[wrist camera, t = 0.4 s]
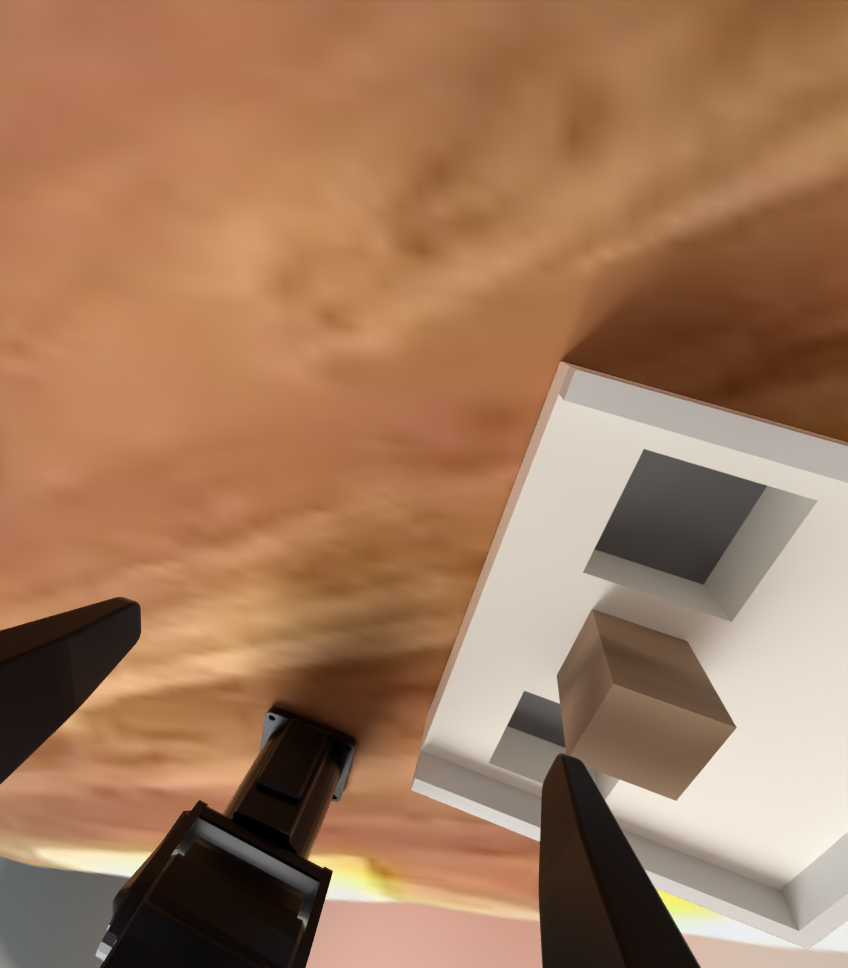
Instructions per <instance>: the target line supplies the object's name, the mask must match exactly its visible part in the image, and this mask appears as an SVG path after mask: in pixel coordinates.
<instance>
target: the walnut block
mask: <svg viewBox="0 0 848 968" xmlns="http://www.w3.org/2000/svg"><path fill="white" fill-rule="evenodd" d="M557 683H558V691H559V699H560V707H561V715H562V723H563V730H564V738H565V746H566V754H567V755H570V756H572V757H575V758H578V759H580V760H581V761H582V762H583V763H584V765H585V766H586V767H588V768H591V769H593V770H596V771H598V772H601V773H604V774H606V775H609V776H612V777H614V778H617V779H620V780H622V781H625V782H628V783H630V784H633V785H635V786H638V787H641V788H643V789H646V790H649V791H651V792H654V793H657V794H659V795H662V796H664V797H667V798H670V799H672V800H675V801H677V799H678V798H679V797H680V796H681V795H682V793H683V792H684V791H685V790H686V789H687V787H688V786H689V785H690V784H691V783H692V781H693V780H694V779H695V778H696V776H697V775H698V774H699V773H700V772H701V770H702V769H703V768H704V767H705V766H706V764H707V763H708V762H709V761H710V760H711V758H712V757H713V756H714V755H715V753H716V752H717V751H718V750H719V749H720V747H721V746H722V745H723V744H724V743H725V741H726V740H727V739H728V738H729V737H730V735H731V734H732V733H733V732H734V730H735V729H736V728H737V727H736V725H735V724H734V722H733V720H732V718H731V717H730V715H729V713H728V711H727V710H726V708H725V706H724V704H723V703H722V701H721V699H720V697H719V696H718V694H717V692H716V690H715V689H714V687H713V685H712V683H711V682H710V680H709V678H708V676H707V675H706V673H705V671H704V669H703V668H702V666H701V664H700V662H699V661H698V659H697V657H696V655H695V654H694V652H693V650H692V648H691V647H690V645H689V643H688V641H685V640H682V639H679V638H676V637H673V636H670V635H667V634H665V633H662V632H659V631H656V630H653V629H650V628H647V627H644V626H641V625H638V624H635V623H632V622H629V621H626V620H623V619H620V618H618V617H615V616H612V615H609V614H606V613H603V612H600V611H597V610H594V609H592V610H591V611H590V613H589V615H588V617H587V619H586V621H585V623H584V625H583V627H582V629H581V630H580V632H579V634H578V636H577V638H576V640H575V642H574V644H573V646H572V647H571V649H570V651H569V653H568V655H567V657H566V659H565V661H564V663H563V665H562V666H561V668H560V670H559V672H558V674H557Z"/></svg>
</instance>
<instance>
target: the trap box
mask: <svg viewBox="0 0 848 968" xmlns="http://www.w3.org/2000/svg"><path fill="white" fill-rule="evenodd" d="M592 609H594V610H597V611H600V612H603V613H606V614H609V615H612V616H615V617H618V618H620V619H623V620H626V621H629V622H632V623H635V624H638V625H641V626H644V627H647V628H650V629H653V630H656V631H659V632H662V633H665V634H667V635H670V636H673V637H676V638H679V639H682V640H685V641H688V643H689V645H690V647H691V648H692V650H693V652H694V654H695V655H696V657H697V659H698V661H699V662H700V664H701V666H702V668H703V669H704V671H705V673H706V675H707V676H708V678H709V680H710V682H711V683H712V685H713V687H714V689H715V690H716V692H717V694H718V696H719V697H720V699H721V701H722V703H723V704H724V706H725V708H726V710H727V711H728V713H729V715H730V717H731V718H732V720H733V722H734V724H735V725H736V727H737V728H736V729H735V730H734V732H733V733H732V734H731V735H730V737H729V738H728V739H727V740H726V741H725V743H724V744H723V745H722V746H721V747H720V749H719V750H718V751H717V752H716V753H715V755H714V756H713V757H712V758H711V760H710V761H709V762H708V763H707V764H706V766H705V767H704V768H703V769H702V770H701V772H700V773H699V774H698V775H697V776H696V778H695V779H694V780H693V781H692V783H691V784H690V785H689V786H688V787H687V789H686V790H685V791H684V792H683V793H682V795H681V796H680V797H679V798H678V799H677V801H675V800H672V799H670V798H667V797H664V796H662V795H659V794H657V793H654V792H651V791H649V790H646V789H643V788H641V787H638V786H635V785H633V784H630V783H628V782H625V781H622V780H620V779H617V778H614V777H612V776H609V775H606V774H604V773H601V772H598V771H596V770H593V769H591V768H588V767H586V768H587V770H588V772H589V773H590V775H591V777H592V779H593V780H594V782H595V784H596V786H597V787H598V789H599V791H600V793H601V794H602V796H603V798H604V800H605V801H606V803H607V805H608V807H609V808H610V810H611V812H612V814H613V815H614V817H615V819H616V821H617V822H618V824H619V826H620V827H621V829H622V831H623V833H624V834H625V836H626V838H627V840H628V841H629V843H630V845H631V847H632V848H633V850H634V852H635V854H636V855H637V857H638V859H639V861H640V862H641V864H642V866H643V868H644V869H645V871H646V873H647V875H648V876H649V878H650V880H651V882H652V883H653V885H654V887H655V888H656V889H659V890H661V891H664V892H666V893H669V894H671V895H674V896H676V897H679V898H681V899H684V900H686V901H689V902H691V903H694V904H696V905H699V906H701V907H704V908H706V909H709V910H711V911H714V912H716V913H719V914H721V915H724V916H726V917H729V918H731V919H734V920H736V921H739V922H741V923H744V924H746V925H749V926H751V927H754V928H756V929H758V930H761V931H763V932H766V933H768V934H771V935H773V936H776V937H778V938H781V939H783V940H786V941H788V942H791V943H793V944H796V945H798V946H801V947H803V948H806V949H810V948H811V947H812V946H814V945H815V944H817V943H818V942H819V941H821V940H822V939H823V938H825V937H826V936H827V935H829V934H830V933H832V932H833V931H834V930H836V929H837V928H838V927H840V926H841V925H842V924H844V923H845V922H847V921H848V442H846V441H842V440H838V439H835V438H831V437H828V436H824V435H821V434H817V433H814V432H810V431H807V430H803V429H800V428H796V427H792V426H789V425H785V424H782V423H778V422H775V421H771V420H768V419H764V418H761V417H757V416H753V415H750V414H746V413H743V412H739V411H736V410H732V409H729V408H725V407H722V406H718V405H715V404H711V403H707V402H704V401H700V400H697V399H693V398H690V397H686V396H683V395H679V394H676V393H672V392H668V391H665V390H661V389H658V388H654V387H651V386H647V385H644V384H640V383H637V382H633V381H630V380H626V379H622V378H619V377H615V376H612V375H608V374H605V373H601V372H598V371H594V370H591V369H587V368H583V367H580V366H576V365H573V364H569V363H566V362H562V361H560V363H559V366H558V369H557V371H556V374H555V377H554V379H553V382H552V385H551V387H550V390H549V393H548V395H547V398H546V401H545V403H544V406H543V409H542V411H541V414H540V417H539V419H538V422H537V425H536V427H535V430H534V433H533V435H532V438H531V441H530V443H529V446H528V449H527V451H526V454H525V457H524V459H523V462H522V465H521V467H520V470H519V473H518V475H517V478H516V481H515V483H514V486H513V489H512V491H511V494H510V497H509V499H508V502H507V505H506V507H505V510H504V513H503V515H502V518H501V521H500V523H499V526H498V529H497V531H496V534H495V537H494V539H493V542H492V545H491V547H490V550H489V553H488V555H487V558H486V561H485V563H484V566H483V569H482V571H481V574H480V577H479V579H478V582H477V585H476V587H475V590H474V593H473V595H472V598H471V601H470V603H469V606H468V609H467V611H466V614H465V617H464V619H463V622H462V625H461V627H460V630H459V633H458V635H457V638H456V641H455V643H454V646H453V649H452V651H451V654H450V656H449V659H448V662H447V664H446V667H445V670H444V672H443V675H442V678H441V680H440V683H439V686H438V688H437V691H436V694H435V696H434V699H433V702H432V704H431V707H430V710H429V712H428V715H427V719H426V724H425V728H424V733H423V737H422V742H421V746H420V750H419V755H418V759H417V764H416V768H415V773H414V777H413V781H412V786H411V790H412V791H415V792H417V793H420V794H422V795H425V796H427V797H430V798H432V799H435V800H437V801H440V802H442V803H445V804H447V805H450V806H452V807H455V808H457V809H460V810H462V811H465V812H467V813H470V814H472V815H475V816H477V817H480V818H482V819H485V820H487V821H490V822H492V823H494V824H497V825H499V826H502V827H504V828H507V829H509V830H512V831H514V832H517V833H519V834H522V835H524V836H527V837H529V838H532V839H534V840H537V841H539V842H540V827H541V796H542V786H543V782H544V779H545V777H546V775H547V773H548V771H549V769H550V767H551V766H552V764H553V762H554V760H555V758H556V756H557V755H558V754H559V753H564V754H566V746H565V738H564V730H563V723H562V715H561V707H560V699H559V691H558V683H557V674H558V672H559V670H560V668H561V666H562V665H563V663H564V661H565V659H566V657H567V655H568V653H569V651H570V649H571V647H572V646H573V644H574V642H575V640H576V638H577V636H578V634H579V632H580V630H581V629H582V627H583V625H584V623H585V621H586V619H587V617H588V615H589V613H590V611H591V610H592Z"/></svg>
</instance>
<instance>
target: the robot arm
mask: <svg viewBox="0 0 848 968" xmlns="http://www.w3.org/2000/svg"><path fill="white" fill-rule="evenodd" d="M140 634H141V608H140V605H139V603H137V602H135V601H133V600H130V599H127V598H124V597H117V598H113V599H109V600H106V601H102V602H99V603H95V604H92V605H88V606H85V607H81V608H78V609H74V610H71V611H67V612H64V613H60V614H57V615H54V616H50V617H47V618H43V619H40V620H36V621H33V622H29V623H26V624H22V625H19V626H15V627H12V628H8V629H5V630H1V631H0V784H1V783H2V782H3V781H4V780H6V779H7V778H8V777H9V776H10V775H11V774H12V773H13V772H14V771H15V770H16V769H17V768H18V767H19V766H20V765H21V764H22V763H23V762H24V761H25V760H26V759H27V758H28V757H29V756H30V755H31V754H32V753H33V752H34V751H36V750H37V749H38V748H39V747H40V746H41V745H42V744H43V743H44V742H45V741H46V740H47V739H48V738H49V737H50V736H51V735H52V734H53V733H54V732H55V731H56V730H57V729H58V728H59V727H60V726H61V725H62V724H63V723H64V722H65V721H66V720H67V719H68V718H69V717H70V716H71V715H72V714H73V713H74V712H75V711H76V710H77V709H78V708H79V707H80V706H81V705H82V704H83V703H84V702H85V701H86V700H87V699H88V697H89V696H90V695H91V694H92V693H93V692H94V691H95V689H96V688H97V687H98V686H99V685H100V684H101V683H102V682H103V680H104V679H105V678H106V677H107V676H108V675H109V674H110V672H111V671H112V670H113V669H114V668H115V667H116V666H117V664H118V663H119V662H120V661H121V660H122V659H123V658H124V657H125V655H126V654H127V653H128V652H129V651H130V650H131V649H132V647H133V646H134V645H135V644H136V643H137V641H138V639H139V637H140ZM355 748H356V741H355V740H354V739H352V738H351V737H348V736H346V735H343V734H340V733H338V732H335V731H333V730H330V729H328V728H325V727H323V726H320V725H318V724H315V723H313V722H310V721H308V720H305V719H302V718H300V717H297V716H295V715H292V714H290V713H287V712H285V711H282V710H280V709H277V708H274V707H273V708H270V709H269V710H268V712H267V713H266V715H265V721H264V728H263V735H262V742H261V748H260V753H259V755H258V756H257V758H256V760H255V761H254V763H253V765H252V766H251V768H250V770H249V771H248V773H247V775H246V776H245V778H244V780H243V781H242V783H241V784H240V786H239V788H238V789H237V791H236V793H235V794H234V796H233V798H232V799H231V801H230V803H229V804H228V806H227V808H226V809H225V811H224V812H223V814H221V813H219V812H217V811H215V810H213V809H211V808H209V807H208V806H207V805H208V804H206V803H205V802H203V801H201V800H199V801H198V802H197V804H196V805H195V806H194V808H193V809H192V810H191V811H183V813H182V814H181V815H180V817H179V818H178V820H177V821H176V823H175V824H174V825H173V827H172V828H171V830H170V831H169V833H168V834H167V835H166V837H165V838H164V840H163V841H162V842H161V844H160V845H159V846H158V847H157V848H156V850H155V851H154V852H153V853H152V854H151V855H150V856H149V858H148V859H147V860H146V861H145V862H144V863H143V864H142V866H141V867H140V868H139V869H138V870H137V871H136V872H135V873H134V875H133V876H132V877H131V878H130V879H129V880H128V881H127V883H126V884H125V885H124V886H123V887H122V888H121V890H120V891H119V892H118V894H117V895H116V897H115V899H114V901H113V905H112V907H113V908H112V920H111V922H110V923H109V925H108V928H107V930H106V934H105V936H104V938H103V940H102V942H101V944H100V946H99V948H98V950H97V953H96V958H97V959H99V960H101V961H103V964H102V965H101V967H100V968H305V967H306V964H307V960H308V957H309V954H310V950H311V947H312V943H313V940H314V936H315V932H316V928H317V925H318V922H319V918H320V915H321V911H322V908H323V904H324V901H325V897H326V894H327V890H328V887H329V883H330V880H331V876H332V872H333V871H332V870H330V869H328V868H326V867H324V868H322V867H320V866H318V865H316V864H314V863H312V862H310V861H308V858H309V856H310V853H311V851H312V848H313V846H314V843H315V841H316V838H317V835H318V833H319V830H320V828H321V825H322V823H323V820H324V818H325V815H326V812H327V810H328V807H329V805H330V802H331V801H334V802H338V801H340V799H341V796H342V793H343V790H344V786H345V783H346V779H347V776H348V772H349V769H350V766H351V762H352V759H353V755H354V752H355ZM539 913H540V931H541V948H542V964H543V965H542V966H543V968H701V967H700V965H699V964H698V962H697V960H696V958H695V957H694V955H693V953H692V951H691V950H690V948H689V946H688V944H687V943H686V941H685V939H684V937H683V936H682V934H681V932H680V930H679V929H678V927H677V925H676V923H675V922H674V920H673V918H672V916H671V915H670V913H669V911H668V909H667V908H666V906H665V904H664V903H663V901H662V899H661V897H660V896H659V894H658V892H657V890H656V889H655V887H654V885H653V883H652V882H651V880H650V878H649V876H648V875H647V873H646V871H645V869H644V868H643V866H642V864H641V862H640V861H639V859H638V857H637V855H636V854H635V852H634V850H633V848H632V847H631V845H630V843H629V841H628V840H627V838H626V836H625V834H624V833H623V831H622V829H621V827H620V826H619V824H618V822H617V821H616V819H615V817H614V815H613V814H612V812H611V810H610V808H609V807H608V805H607V803H606V801H605V800H604V798H603V796H602V794H601V793H600V791H599V789H598V787H597V786H596V784H595V782H594V780H593V779H592V777H591V775H590V773H589V772H588V770H587V768H586V766H585V765H584V763H583V762H582V761H581V760H580V759H578V758H575V757H572V756H570V755H567V754H564V753H559V754H558V755H557V756H556V758H555V760H554V762H553V764H552V766H551V767H550V769H549V771H548V773H547V775H546V777H545V779H544V782H543V786H542V796H541V827H540V857H539Z"/></svg>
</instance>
